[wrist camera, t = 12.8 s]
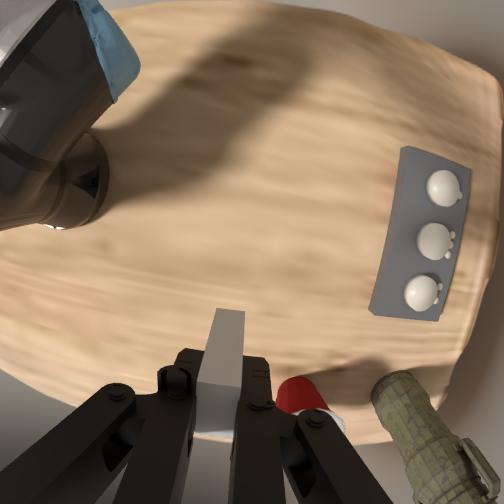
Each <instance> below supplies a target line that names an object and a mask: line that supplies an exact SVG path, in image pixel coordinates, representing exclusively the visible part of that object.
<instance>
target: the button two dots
mask: <svg viewBox="0 0 504 504" xmlns="http://www.w3.org/2000/svg"><path fill="white" fill-rule="evenodd" d="M437 293H438V288H437V284H436V282H435V281H434V280H433V279H431V278H430V277H428V276H426V275H424V274H417V275H415V276H413V277H411V278H410V279H409V280H408V282H407V283H406V285H405V288H404V292H403V296H404V300H405V302H406V303H407V304H408V305H409V306H410V307H411V308H412V309H414V310H415V311H425V310H427V309H428V308H430V307H431V306H432V305H433V303H434V302H435V300H436V297H437Z"/></svg>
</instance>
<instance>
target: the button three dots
mask: <svg viewBox="0 0 504 504" xmlns="http://www.w3.org/2000/svg"><path fill="white" fill-rule="evenodd" d="M450 241H451V239H450V234H449V231H448V229H447V228H446V227H445V226H444V225H442V224H438V223H433V222H430V223H426V224H425V225H423V226H422V227H421V228H420V230H419V232H418V234H417V239H416V244H417V248H418V251H419V252H420V254H421V255H423V256H424V257H427V258H429V259H431V260H439V259H441V258H443V257H444V256H445V255H446V253H447V252H448V250H449V247H450Z"/></svg>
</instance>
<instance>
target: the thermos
mask: <svg viewBox="0 0 504 504" xmlns="http://www.w3.org/2000/svg"><path fill="white" fill-rule="evenodd" d="M371 401H372V404H373V406H374V408H375V411H376V414H377V416H378V418H379V420H380V422H381V424H382V426H383V427H384V428H385V429H386V430H387V431H388V432H390V434H391V437H392V439H393V441H394V443H395V444H396V446H397V449H398V451H399V453H400V455H401V457H402V459H403V461H404V463H405V465H406V469H405V471H406V475H407V477H408V480H409V482H410V484H411V486H412V488H413V491H414V493H413V500H414V502H415V504H497V503H496V501H495V499H496V498H497V497H498V496H497V495H498V494H499V492H500V478H499V477H498V475H497V474H496V473H495V471H494V470H493V468H492V467H491V466H490V464H489V463H488V461H487V460H486V459H485V457H484V456H483V454H482V453H481V452H480V450H479V449H478V447H477V446H476V445H475V444H474V443H473V442H472V441H471V440H470V439H469V438H464V439H461V440H460V438H459V437H458V436H456V435H454V434H452V433H451V432H450V430H449V429H448V427H447V426H446V425H445V423H444V422H443V420H442V419H441V418H440V416H439V415H438V413H437V412H436V411H435V409H434V408H433V407H432V405H431V403H430V397H429V395H428V394H427V393H426V392H425V390H424V389H423V388H422V386H421V385H420V384H419V382H418V381H417V380H415V379H414V377H413V376H412V375H411V374H410V373H409V372H407V371H396V372H392V373H390V374H388V375H386V376H385V377H383V378H382V379H381V380H380V381H379V382H378V383H377V384H376V385H375V387H374V388H373V391H372V393H371ZM477 470H478V471H479V473H480V474H481V476H482V477H483V479H484V480H485V482H486V484H487V485H488V487H489V490H488V488H487V487H486V485H485V484H482V482H481V477H480V476H479V474H478V472H477Z"/></svg>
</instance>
